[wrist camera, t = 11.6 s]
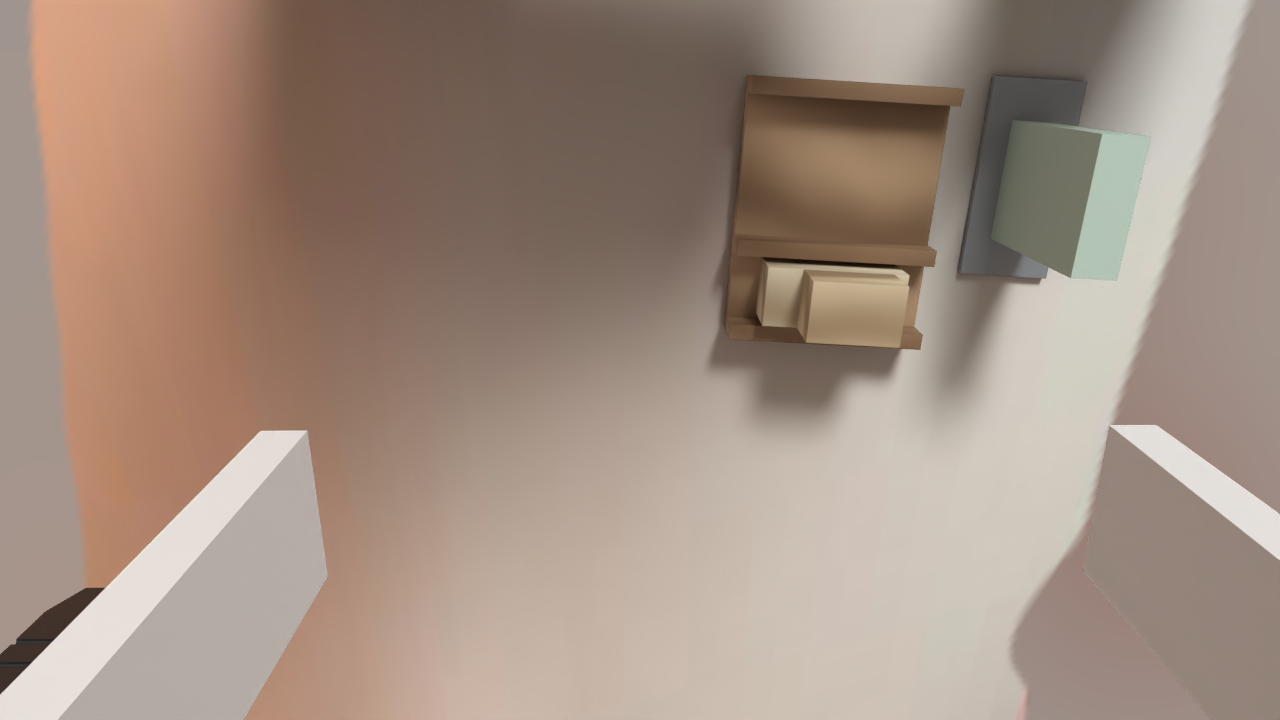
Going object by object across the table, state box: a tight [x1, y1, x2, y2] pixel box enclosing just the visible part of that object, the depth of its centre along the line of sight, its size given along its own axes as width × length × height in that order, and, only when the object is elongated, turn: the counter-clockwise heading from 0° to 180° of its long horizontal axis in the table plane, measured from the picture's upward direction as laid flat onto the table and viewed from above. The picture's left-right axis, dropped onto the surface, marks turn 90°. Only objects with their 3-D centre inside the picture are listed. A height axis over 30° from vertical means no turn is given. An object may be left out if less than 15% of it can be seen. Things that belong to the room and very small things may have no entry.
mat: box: [958, 76, 1087, 278], centre depth 46 cm, size 10×5×1 cm, turn 177°
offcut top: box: [797, 269, 909, 348], centre depth 43 cm, size 3×4×2 cm, turn 87°
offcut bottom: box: [756, 257, 910, 328], centre depth 45 cm, size 3×7×2 cm, turn 87°
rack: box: [724, 75, 964, 350], centre depth 45 cm, size 13×10×2 cm
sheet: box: [991, 120, 1151, 281], centre depth 41 cm, size 6×2×9 cm, turn 177°
